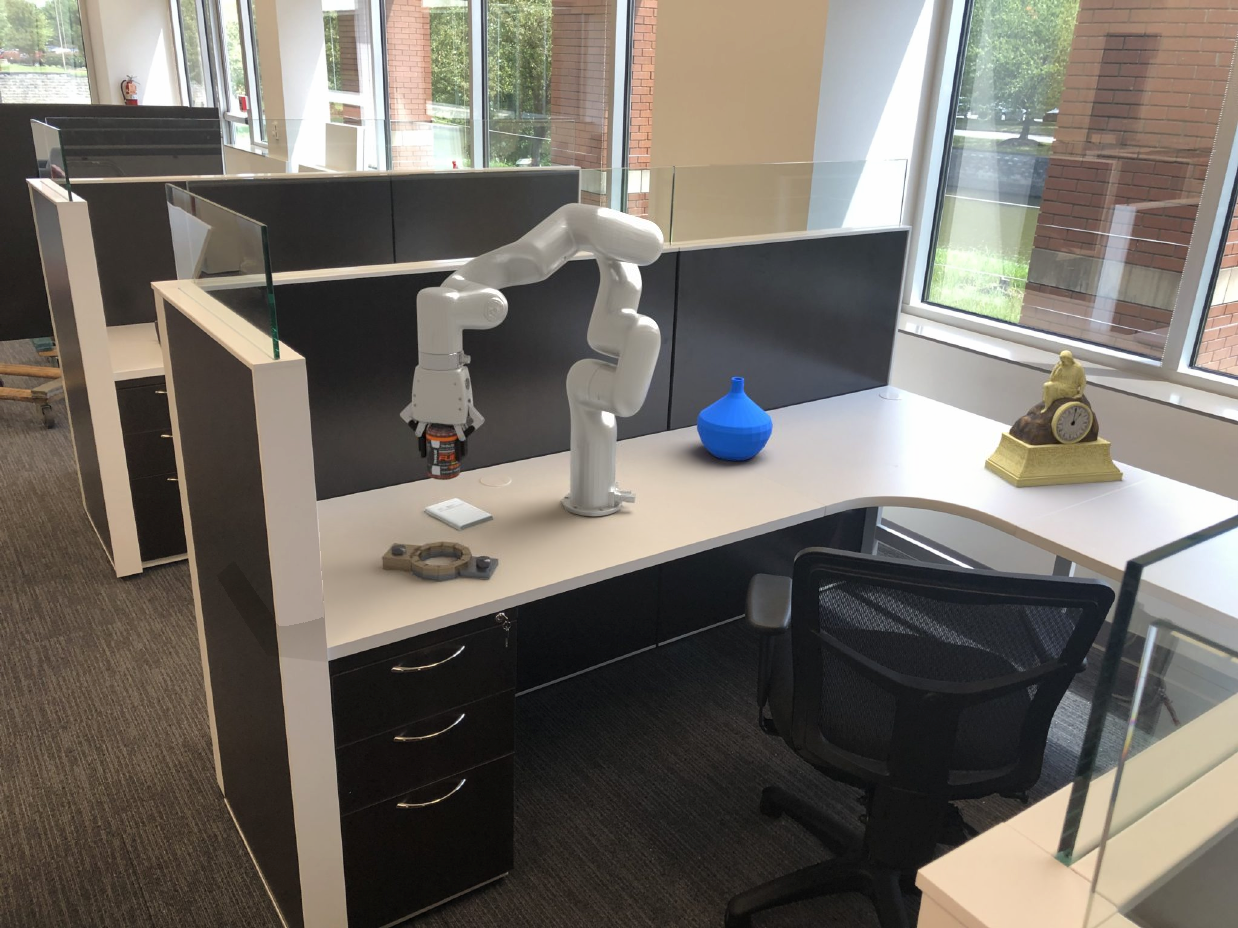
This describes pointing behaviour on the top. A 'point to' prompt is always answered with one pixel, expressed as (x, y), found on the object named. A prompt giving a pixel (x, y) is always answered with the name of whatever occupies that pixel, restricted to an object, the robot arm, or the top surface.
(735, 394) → the vase
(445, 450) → the supplement bottle
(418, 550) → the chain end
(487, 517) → the external hard drive
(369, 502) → the top surface
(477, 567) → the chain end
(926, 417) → the top surface
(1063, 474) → the decorative clock
